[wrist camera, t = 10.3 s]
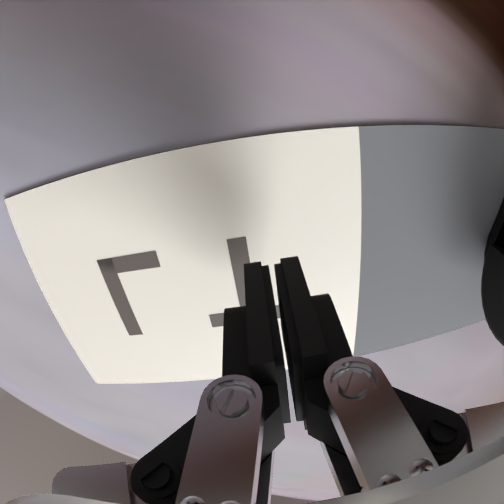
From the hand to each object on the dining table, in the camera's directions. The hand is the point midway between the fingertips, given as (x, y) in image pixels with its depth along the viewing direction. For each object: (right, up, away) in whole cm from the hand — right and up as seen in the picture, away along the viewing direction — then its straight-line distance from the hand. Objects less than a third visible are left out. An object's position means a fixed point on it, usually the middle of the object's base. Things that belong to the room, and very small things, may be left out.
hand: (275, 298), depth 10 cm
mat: (+12, +2, +2) cm, 12 cm away
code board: (-3, 0, +2) cm, 4 cm away
